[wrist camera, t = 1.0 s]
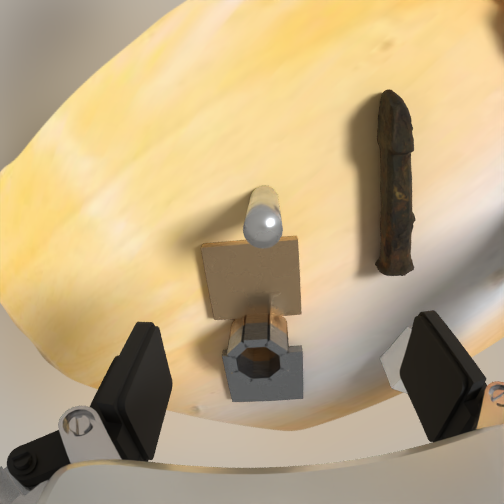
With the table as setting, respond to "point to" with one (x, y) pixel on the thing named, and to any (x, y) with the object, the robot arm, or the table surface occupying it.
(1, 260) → the table surface
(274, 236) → the hinge pin
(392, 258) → the hand tool
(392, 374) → the light grey cube
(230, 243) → the hinge
